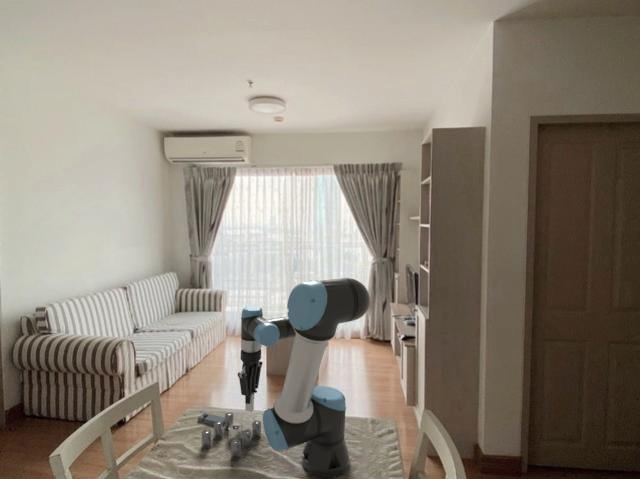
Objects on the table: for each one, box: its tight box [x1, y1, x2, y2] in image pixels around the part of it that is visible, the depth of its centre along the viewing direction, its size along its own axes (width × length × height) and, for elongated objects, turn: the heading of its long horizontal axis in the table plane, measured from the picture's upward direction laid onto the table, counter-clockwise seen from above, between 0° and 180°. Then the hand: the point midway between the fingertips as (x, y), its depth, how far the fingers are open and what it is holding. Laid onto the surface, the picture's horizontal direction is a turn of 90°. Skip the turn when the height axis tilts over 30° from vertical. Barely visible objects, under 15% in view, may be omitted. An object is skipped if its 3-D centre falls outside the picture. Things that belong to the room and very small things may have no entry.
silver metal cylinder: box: [227, 422, 244, 443], centre depth 123 cm, size 5×5×4 cm
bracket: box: [197, 412, 225, 426], centre depth 133 cm, size 4×10×2 cm, turn 72°
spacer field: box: [201, 411, 262, 461], centre depth 121 cm, size 15×15×5 cm
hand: (249, 410), depth 131 cm, fingers closed
